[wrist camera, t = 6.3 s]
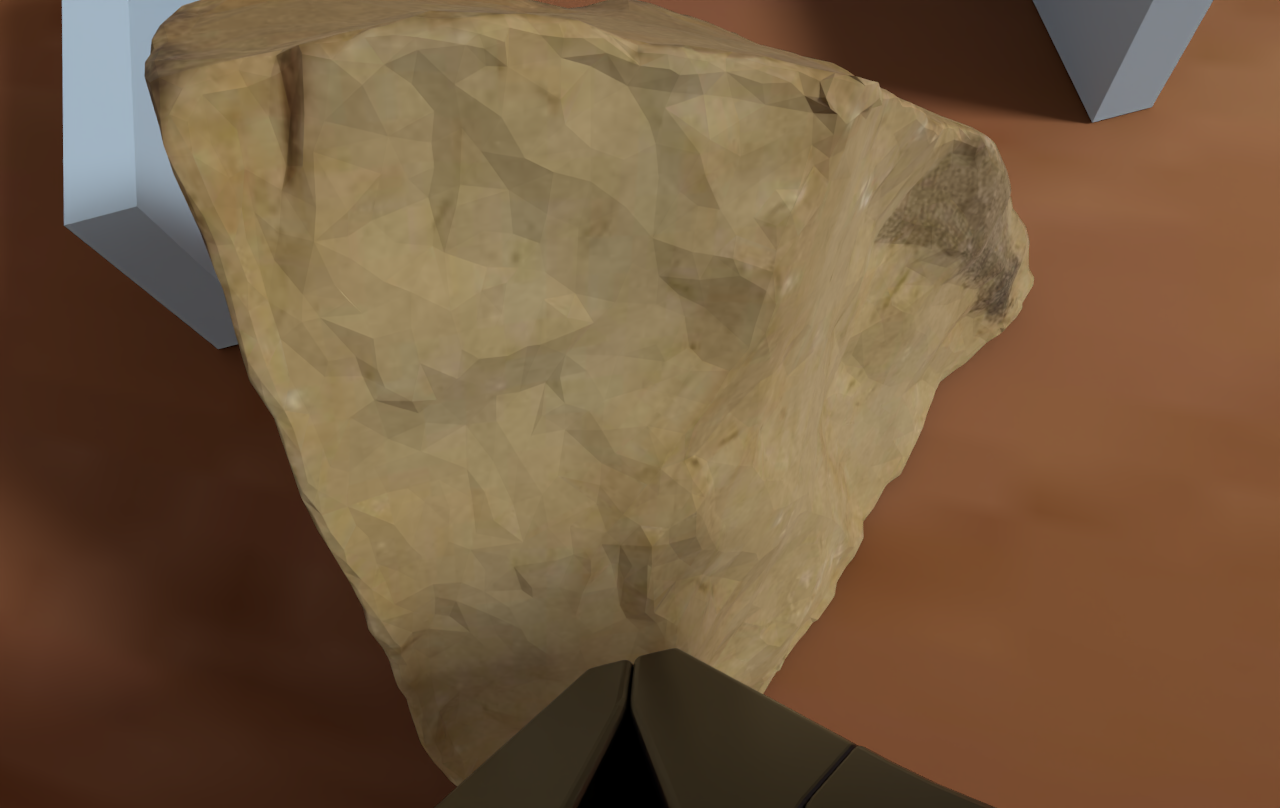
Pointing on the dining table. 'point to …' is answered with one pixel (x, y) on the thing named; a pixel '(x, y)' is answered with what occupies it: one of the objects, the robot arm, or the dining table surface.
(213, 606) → the dining table surface
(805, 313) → the rock
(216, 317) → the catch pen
